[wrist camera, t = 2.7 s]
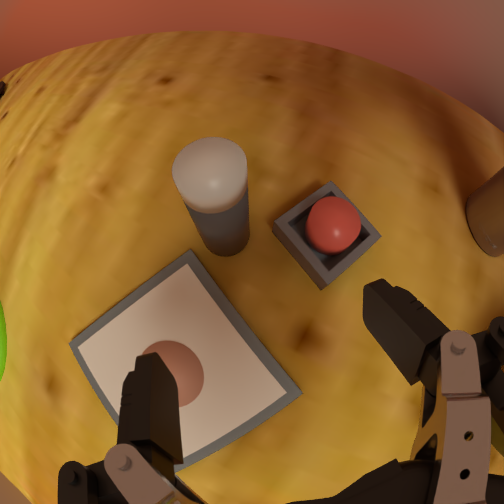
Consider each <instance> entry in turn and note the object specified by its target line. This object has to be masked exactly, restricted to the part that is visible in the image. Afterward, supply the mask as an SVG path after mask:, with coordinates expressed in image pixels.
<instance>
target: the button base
mask: <svg viewBox="0 0 504 504" xmlns="http://www.w3.org/2000/svg"><path fill="white" fill-rule="evenodd" d="M331 196H333V197H339V198H342V199H344V200H346V201H348V202H349V203H351V204H352V205H353V206H354V207H355V209H356V210H357V212H358V214H359V216H360V220H361V230H360V233H359V235H358V237H357V238H356V239H355V240H354V241H353V242H352V244H351V245H350V246H349V247H348V248H347V249H346V250H345V251H343V252H342V253H340V254H337V255H332V256H330V255H324V254H321V253H319V252H317V251H315V250H314V249H313V248H312V247H311V246H310V245H309V243H308V241H307V239H306V237H305V230H304V228H305V223H306V221H307V218H308V216H309V214H310V211H311V209H312V207H313V205H314V204H315V203H316V202H317V201H318V200H320V199H322V198H325V197H331ZM272 232H273V233H274V235H275V236H276V237H277V238H278V239H279V240H280V242H281V243H282V244H283V245H284V246H285V248H286V249H287V250H288V251H289V252H290V254H291V255H292V256H293V257H294V258H295V260H296V261H297V262H298V263H299V264H300V265H301V267H302V268H303V269H304V270H305V272H306V273H307V274H308V275H309V276H310V278H311V279H312V280H313V281H314V282H315V284H316V285H317V286H318V287H319V289H320V290H322V289H323V288H325V287H326V286H327V285H329V284H330V283H331V282H332V281H333V280H334V279H336V278H337V277H338V276H339V275H340V274H341V273H342V272H344V271H345V270H346V269H347V268H348V267H349V266H350V265H351V264H352V263H354V262H355V261H356V260H357V259H358V258H359V257H360V256H361V255H362V254H363V253H364V252H366V251H367V250H368V249H369V248H370V247H371V246H372V245H373V244H374V243H375V242H376V241H377V240H378V239H379V238H380V237H381V235H380V234H379V232H378V231H377V230H376V229H375V228H374V227H373V225H372V224H371V223H370V222H369V221H368V220H367V219H366V217H365V216H364V215H363V214H362V213H361V212H360V211H359V210H358V209H357V207H356V206H355V205H354V204H353V203H352V202H351V201H350V200H349V199H348V198H347V197H346V196H345V195H344V193H343V192H342V191H341V190H340V189H339V188H338V187H337V186H336V185H335V184H334V183H333V182H332V181H330V182H328V183H327V184H325V185H324V186H323V187H321V188H320V189H318V190H317V191H316V192H314V193H313V194H311V195H310V196H308V197H307V198H306V199H304V200H303V201H301V202H300V203H299V204H297V205H296V206H294V207H293V208H292V209H290V210H289V211H287V212H286V213H285V214H283V215H282V216H280V217H279V218H278V219H276V220H275V221H274V224H273V230H272Z"/></svg>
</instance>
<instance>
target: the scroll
mask: <svg viewBox="0 0 504 504" xmlns="http://www.w3.org/2000/svg"><path fill="white" fill-rule="evenodd" d="M4 87H5V83H4V82H3V81H1V82H0V94H2V95H4V90H3V89H4Z"/></svg>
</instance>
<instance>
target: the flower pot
mask: <svg viewBox="0 0 504 504" xmlns="http://www.w3.org/2000/svg"><path fill="white" fill-rule="evenodd" d="M491 444H492V445H493V446H494V447H495V448H496V450H497V451H498V452H499V453H500V454H501V455H502V456H503V457H504V434H503V432H502V431H501V429H500V428H499V426H498V425H497V423H496V422H495V420H494V418H493V417H492V415H491Z"/></svg>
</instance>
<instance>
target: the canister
mask: <svg viewBox="0 0 504 504" xmlns="http://www.w3.org/2000/svg"><path fill="white" fill-rule="evenodd" d="M172 176H173V180H174V182H175V184H176V186H177V188H178V190H179V193H180V195H181V197H182V199H183V201H184V203H185V205H186V207H187V209H188V211H189V213H190V215H191V217H192V219H193V221H194V223H195V225H196V228H197V230H198V232H199V234H200V236H201V238H202V240H203V242H204V243H205V245H206V247H207V248H208V249H209V250H210V251H211V252H212V253H214V254H216V255H219V256H232V255H235V254H237V253H239V252H240V251H241V250H243V249H244V247H245V246H246V245H247V243H248V240H249V236H250V230H249V205H248V180H247V160H246V156H245V154H244V152H243V150H242V149H241V148H240V147H239V146H238V145H237V144H236V143H234V142H233V141H231V140H228V139H225V138H221V137H207V138H202V139H199V140H196V141H194V142H192V143H190V144H189V145H187V146H186V147H184V148H183V149H182V150H181V151H180V152H179V154H178V155H177V157H176V158H175V160H174V163H173V167H172Z"/></svg>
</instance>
